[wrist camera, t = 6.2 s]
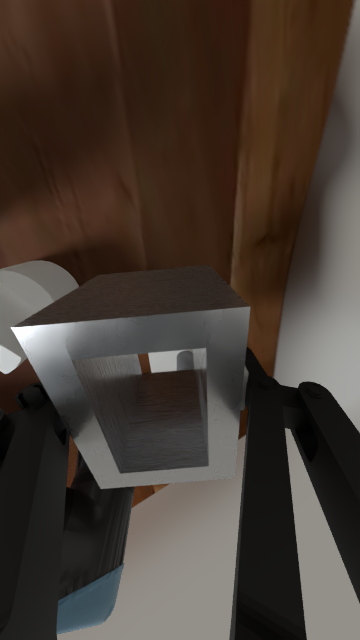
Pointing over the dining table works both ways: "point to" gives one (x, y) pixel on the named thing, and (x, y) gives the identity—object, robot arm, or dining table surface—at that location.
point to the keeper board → (171, 360)
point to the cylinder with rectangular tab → (27, 301)
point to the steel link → (149, 388)
